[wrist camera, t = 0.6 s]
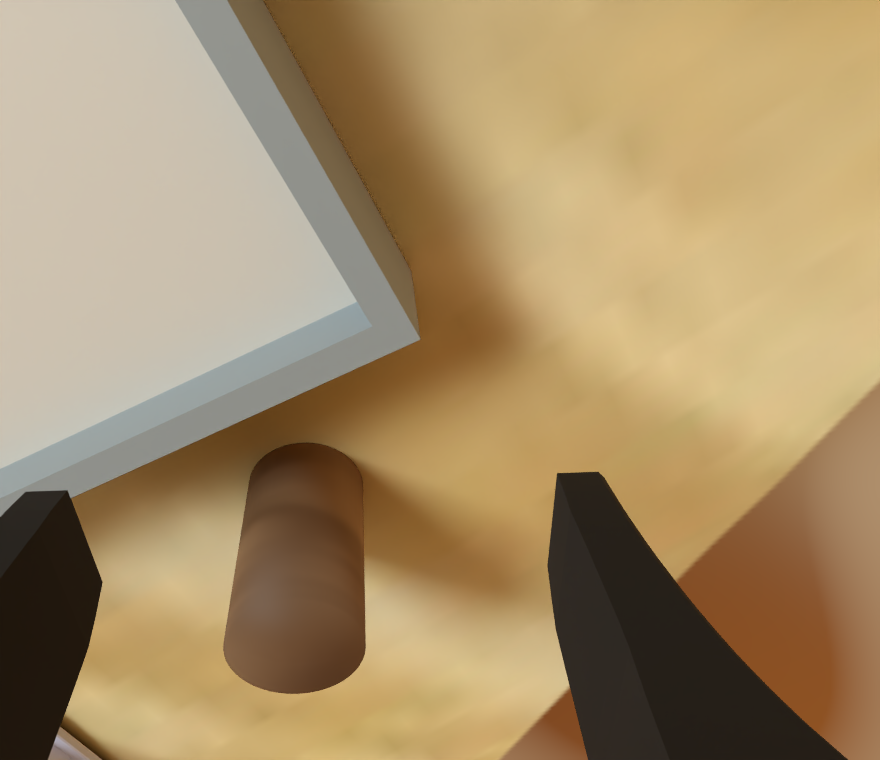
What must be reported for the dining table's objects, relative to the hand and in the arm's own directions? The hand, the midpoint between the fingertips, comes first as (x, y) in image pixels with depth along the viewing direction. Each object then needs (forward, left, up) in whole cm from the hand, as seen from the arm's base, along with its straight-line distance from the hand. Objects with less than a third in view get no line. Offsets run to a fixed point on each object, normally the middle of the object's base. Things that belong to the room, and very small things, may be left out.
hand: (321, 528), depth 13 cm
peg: (-5, -6, -10) cm, 13 cm away
